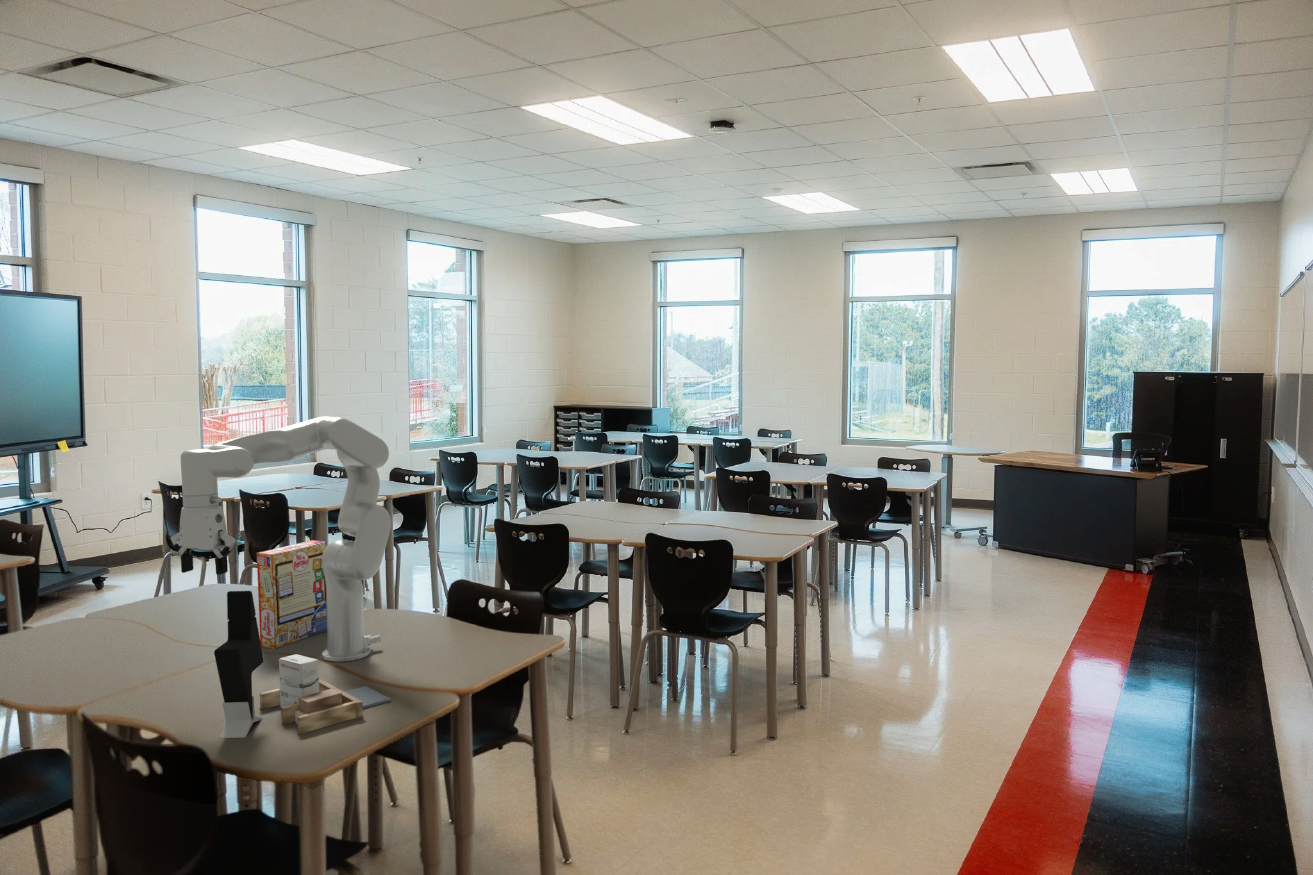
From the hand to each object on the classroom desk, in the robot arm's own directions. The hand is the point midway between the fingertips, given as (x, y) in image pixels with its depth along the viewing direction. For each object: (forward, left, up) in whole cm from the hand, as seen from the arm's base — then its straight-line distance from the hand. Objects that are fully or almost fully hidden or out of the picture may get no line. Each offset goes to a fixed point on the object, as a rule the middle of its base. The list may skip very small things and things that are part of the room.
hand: (204, 572), depth 218 cm
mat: (-24, +29, -30) cm, 48 cm away
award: (+3, +27, -30) cm, 40 cm away
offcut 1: (-11, +35, -30) cm, 47 cm away
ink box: (-11, +25, -30) cm, 40 cm away
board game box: (-34, -30, -30) cm, 54 cm away
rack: (-11, +28, -30) cm, 43 cm away
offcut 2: (-12, +35, -27) cm, 46 cm away
